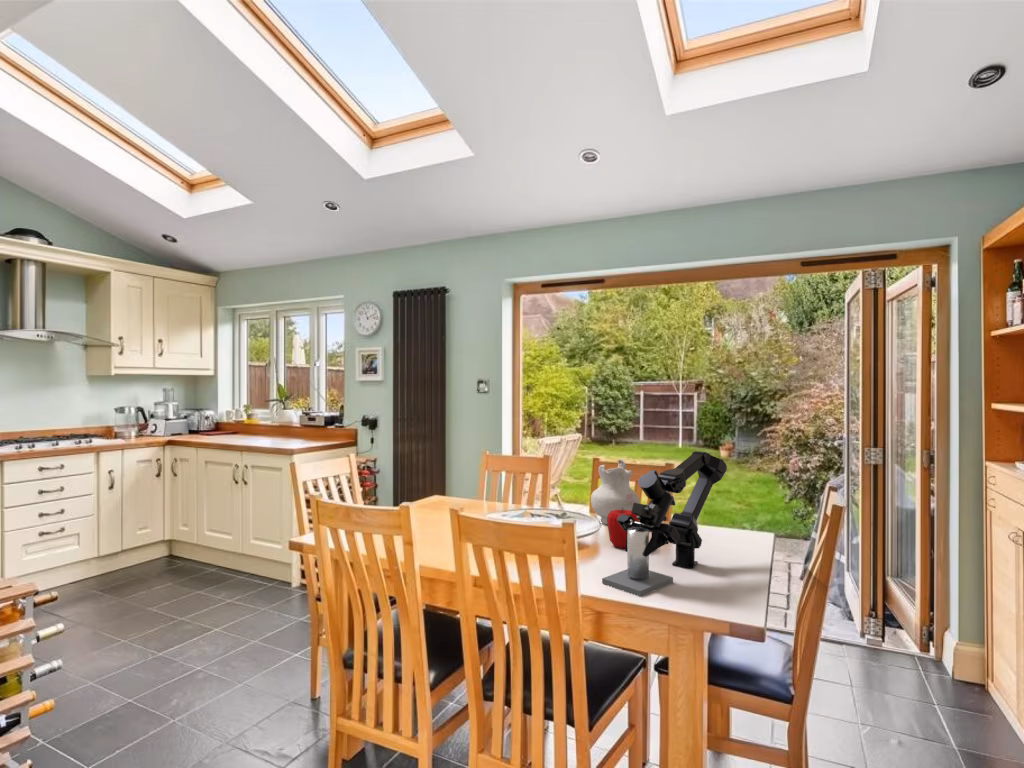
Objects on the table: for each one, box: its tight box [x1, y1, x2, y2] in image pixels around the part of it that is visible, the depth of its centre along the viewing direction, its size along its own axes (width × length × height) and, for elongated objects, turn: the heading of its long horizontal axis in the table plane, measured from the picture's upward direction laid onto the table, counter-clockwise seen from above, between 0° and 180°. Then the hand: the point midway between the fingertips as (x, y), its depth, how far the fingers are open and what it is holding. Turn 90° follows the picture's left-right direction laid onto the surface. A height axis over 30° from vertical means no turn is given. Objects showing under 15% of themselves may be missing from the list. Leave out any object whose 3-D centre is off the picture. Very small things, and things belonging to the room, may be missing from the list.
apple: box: [607, 508, 639, 549], centre depth 199 cm, size 10×10×14 cm
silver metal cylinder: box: [626, 527, 650, 579], centre depth 162 cm, size 6×6×13 cm
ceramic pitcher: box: [590, 458, 640, 526], centre depth 234 cm, size 22×20×25 cm
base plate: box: [601, 569, 674, 597], centre depth 162 cm, size 16×13×2 cm
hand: (635, 553), depth 162 cm, fingers closed on silver metal cylinder, 6 cm apart
